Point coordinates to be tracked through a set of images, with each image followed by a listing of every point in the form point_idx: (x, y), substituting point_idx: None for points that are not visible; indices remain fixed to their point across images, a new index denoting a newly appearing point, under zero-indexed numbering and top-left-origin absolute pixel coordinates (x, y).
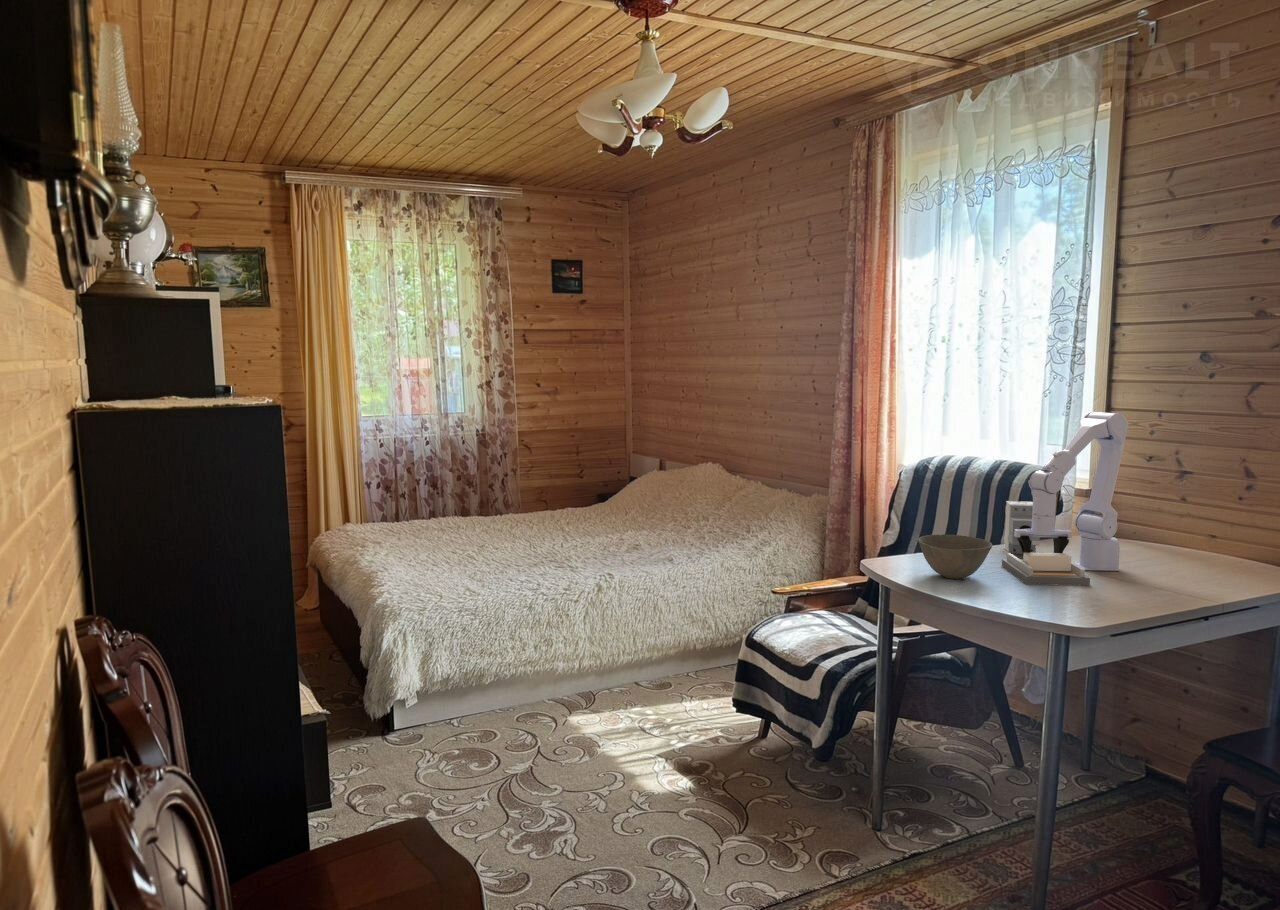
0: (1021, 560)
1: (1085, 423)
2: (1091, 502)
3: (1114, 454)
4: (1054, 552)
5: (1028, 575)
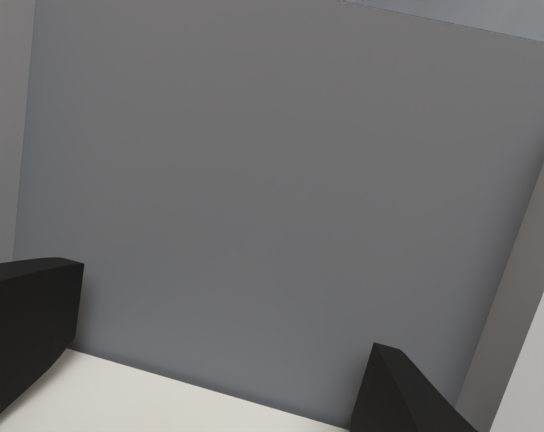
0: (153, 27)
1: None
2: None
3: None
4: (393, 421)
5: None
